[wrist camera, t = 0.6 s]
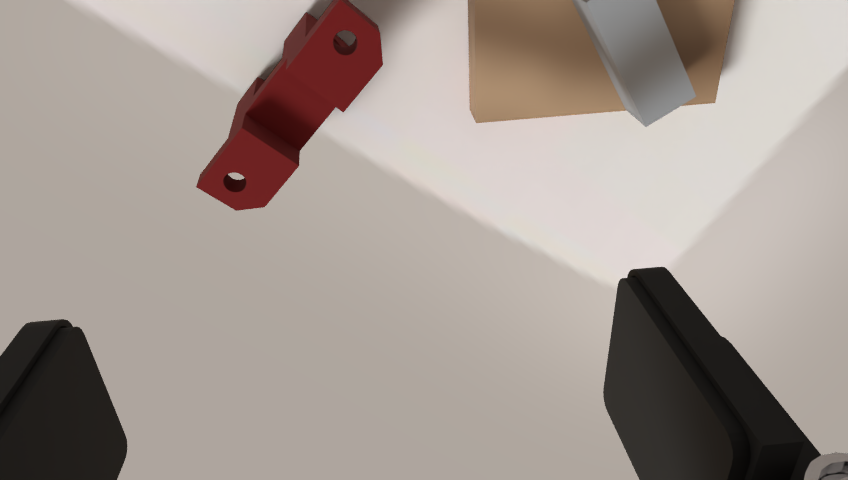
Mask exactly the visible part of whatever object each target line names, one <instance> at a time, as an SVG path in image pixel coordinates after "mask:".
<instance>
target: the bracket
mask: <svg viewBox="0 0 848 480" xmlns="http://www.w3.org/2000/svg"><path fill="white" fill-rule="evenodd" d="M343 30H348V31H351V32H352V33H354V35H355V36H356V39H355V41H354V43H353V44H352V45H350V46H348V45H347V44H346V43H345V42H344V41H343V40H342V39H341V38H339V37H338V36H337V35H336V34H337V33H338V32H340V31H343ZM382 65H383V61H382V50H381V39H380V32H379V29H378V26H377V25H376V24H375V23H374V22H373V21H372V20H370V19H369V18H368V17H367V16H366V15H365V14H363V13H362V12H361V11H360V10H359V9H358V8H356V7H355V6H354V5H353V4H352V3H350V2H349V1H348V0H333V1H332V3H331V4H330V5H329V6H328V8H327V9H326V10H325V12H324V13H323V14H322V16H321V17H320V18H319V20H317V19H315V18H314V17H313V16H311V15H310V14H308V13H307V12H306V13H305V14H304V16H303V17H302V18H301V20H300V21H299V22H298V24H297V25H296V26H295V28H294V29H293V30H292V32H291V33H290V34H289V36H288V37H287V38H286V40H285V42H284V49H283V57H282V59H281V60H280V62H279V63H278V64H277V66H276V67H275V68H274V70H273V71H272V72H271V74H270V75H269V76H268V78H267V79H266V80H265V81H264V80H262V79H260V78H259V77H257V78H256V80H255V81H254V82H253V84H252V85H251V86H250V88H249V89H248V90H247V92H246V93H245V94H244V96H243V97H242V98H241V100H240V101H239V103H238V105H237V108H236V112H235V115H234V119H233V122H232V126H231V129H230V133H229V137H228V139H227V140H226V142H225V143H224V144H223V146H222V147H221V148H220V149H219V151H218V152H217V153H216V155H215V156H214V157H213V159H212V160H211V161H210V163H209V164H208V165H207V167H206V168H205V169H204V170H203V172H202V173H201V174H200V177H199V180H198V183H197V188H199V189H201V190H203V191H204V192H206V193H208V194H209V195H211V196H212V197H214V198H216V199H218V200H220V201H221V202H223V203H224V204H226V205H228V206H229V207H231V208H233V209H235V210H244V209H253V208H261V207H265V206H266V205H267V204H268V202H269V201H270V200H271V199H272V197H273V196H274V195H275V194H276V193H277V192H278V190H279V189H280V188H281V187H282V186H283V184H284V183H285V182H286V181H287V180H288V178H289V177H290V176H291V175H292V174H293V172H294V171H295V170H296V169H297V168H298V166H299V153H300V150H301V149H302V147H303V146H304V145H305V144H306V142H307V141H308V140H309V139H310V137H311V136H312V135H313V134H314V133H315V132H316V130H317V129H318V128H319V127H320V126H321V124H322V123H323V122H324V121H325V119H326V118H327V117H328V116H329V115H330V113H331V112H332V111H333V110H334V108H335V107H337V108H338V109H339V110H341V111H342V112H344V111H345V110H346V109H347V107H348V106H349V105H350V104H351V103H352V101H353V100H354V99H355V98H356V97H357V95H358V94H359V93H360V92H361V90H362V89H363V88H364V87H365V86H366V84H367V83H368V82H369V81H370V80H371V78H372V77H373V76H374V75H375V74H376V72H377V71H378V70H379V69H380V68H381V66H382ZM232 172H236V173H239V174H241V175H243V176H244V177H245V178H244V179H242V180H235V179H232V178H231V177H230V176H229V175H228V173H232Z"/></svg>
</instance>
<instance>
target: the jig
mask: <svg viewBox="0 0 848 480" xmlns="http://www.w3.org/2000/svg"><path fill="white" fill-rule="evenodd" d="M734 2H735V0H468V27H469V88H470V111H471V113H472V115H473V117H474V119H475V121H476V123H482V122H494V121H506V120H518V119H530V118H542V117H554V116H566V115H577V114H589V113H601V112H613V111H625V110H627V111H628V112H629V113H630V114H632V115H633V116H634V117H635V118H636V119H637V120H638V121H640V122H641V123H642V124H643V125H644V126H645V127H647V126H648V125H650V124H652V123H653V122H655V121H657V120H658V119H660V118H662V117H663V116H665V115H667V114H668V113H670V112H672V111H673V110H675V109H677V108H678V107H680V106H684V105H696V104H708V103H715V100H716V95H717V90H718V85H719V80H720V74H721V69H722V64H723V59H724V54H725V48H726V43H727V38H728V33H729V28H730V22H731V17H732V12H733V7H734Z"/></svg>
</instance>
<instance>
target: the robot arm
mask: <svg viewBox="0 0 848 480" xmlns="http://www.w3.org/2000/svg"><path fill="white" fill-rule="evenodd" d="M603 393H604V402H605V406H606V409H607V411H608V414H609V416H610V418H611V420H612V422H613V424H614V426H615V429H616V430H617V433H618V435H619V437H620V439H621V441H622V443H623V445H624V448H625V450H626V452H627V454H628V456H629V458H630V460H631V462H632V465H633V467H634V469H635V471H636V473H637V475H638V477H639V479H640V480H848V453H831V454H825V455H821V454H820V453H819V452H818V451H817V449H816V448H815V447H814V446H813V444H812V443H811V442H810V441H809V439H808V438H807V437H806V436H805V435H804V433H803V432H802V431H801V430H800V428H799V427H798V426H797V425H796V423H795V422H794V421H793V420H792V418H791V417H790V416H789V415H788V413H787V412H786V411H785V410H784V408H783V407H782V406H781V405H780V404H779V402H778V401H777V400H776V399H775V397H774V396H773V395H772V394H771V392H770V391H769V390H768V389H767V387H765V385H764V384H763V383H762V381H761V380H760V379H759V378H758V376H757V375H756V374H755V373H754V371H753V370H752V369H751V368H750V366H749V365H748V364H747V363H746V362H745V360H744V359H743V358H742V357H741V355H740V354H739V353H738V352H737V350H736V349H735V348H734V347H733V345H732V344H731V343H730V342H729V341H728V340H727V339H726V338H724V337H722V336H720V335H719V333H718V332H717V331H716V330H715V328H714V327H713V326H712V325H711V323H710V322H709V321H708V320H707V318H706V317H705V316H704V315H703V314H702V312H701V311H700V310H699V309H698V307H697V306H696V305H695V303H694V302H693V301H692V300H691V298H690V297H689V296H688V295H687V293H686V292H685V291H684V290H683V288H682V287H681V286H680V284H678V282H677V281H676V280H675V278H674V277H673V276H672V274H671V273H670V272H669V271H668V270H667V269H666V268H665V267H655V268H643V269H633V270H631V271H630V272H629V274H628V277H627V278H622V279H620V281H619V283H618V288H617V296H616V303H615V311H614V317H613V325H612V332H611V339H610V346H609V354H608V361H607V368H606V375H605V382H604V392H603ZM126 453H127V439H126V436H125V433H124V431H123V428H122V426H121V423H120V421H119V418H118V416H117V414H116V411H115V409H114V406H113V404H112V401H111V399H110V396H109V394H108V391H107V389H106V386H105V384H104V382H103V379H102V377H101V374H100V372H99V370H98V367H97V364H96V362H95V360H94V357H93V355H92V352H91V350H90V347H89V345H88V342H87V340H86V337H85V335H84V333H83V331H82V330H81V329H80V328H79V327H73V326H72V324H71V323H70V322H69V321H68V320H64V319H62V320H51V321H39V322H30V323H27V324H25V325H24V326H23V327H22V329H21V330H20V331H19V332H18V334H17V335H16V336H15V338H14V339H13V340H12V342H11V343H10V344H9V346H8V347H7V348H6V350H5V351H4V352H3V354H2V355H1V356H0V480H117V478H118V475H119V473H120V471H121V468H122V466H123V463H124V461H125V458H126Z"/></svg>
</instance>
